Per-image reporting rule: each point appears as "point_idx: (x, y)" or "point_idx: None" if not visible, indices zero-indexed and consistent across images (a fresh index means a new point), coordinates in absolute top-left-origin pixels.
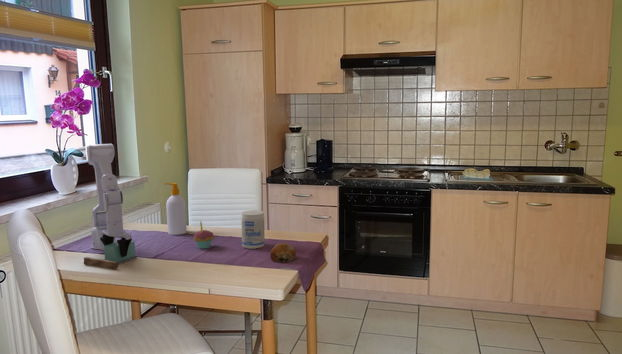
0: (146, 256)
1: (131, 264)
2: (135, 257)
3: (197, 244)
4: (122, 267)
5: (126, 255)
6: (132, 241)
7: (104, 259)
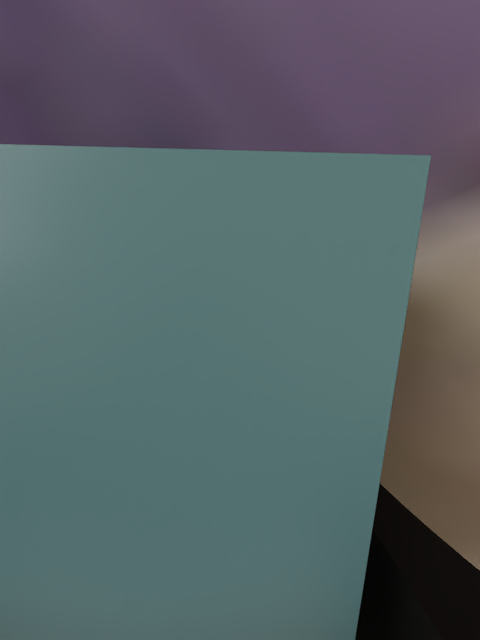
0: (462, 147)
1: (470, 477)
2: None
3: None
4: None
5: None
6: (367, 252)
7: None
